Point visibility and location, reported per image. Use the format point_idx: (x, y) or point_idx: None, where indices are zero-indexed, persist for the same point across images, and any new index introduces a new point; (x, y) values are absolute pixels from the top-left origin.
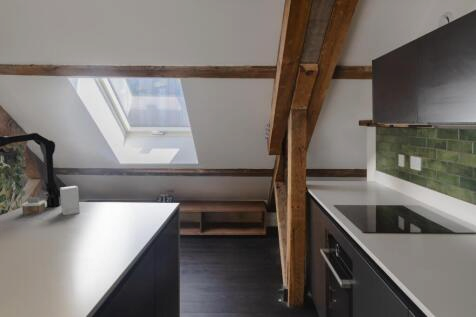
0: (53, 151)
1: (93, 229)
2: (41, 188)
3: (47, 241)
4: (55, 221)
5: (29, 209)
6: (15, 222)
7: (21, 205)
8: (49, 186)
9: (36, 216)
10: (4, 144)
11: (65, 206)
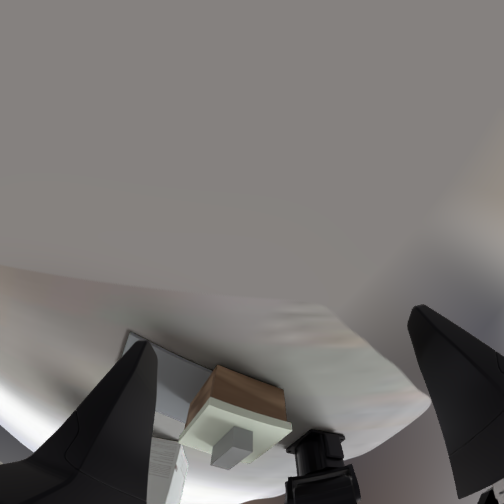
0: None
1: (14, 404)
2: (351, 490)
3: None
4: (83, 400)
5: (200, 402)
6: (113, 320)
7: (209, 400)
8: None
9: (163, 392)
10: None
11: None
